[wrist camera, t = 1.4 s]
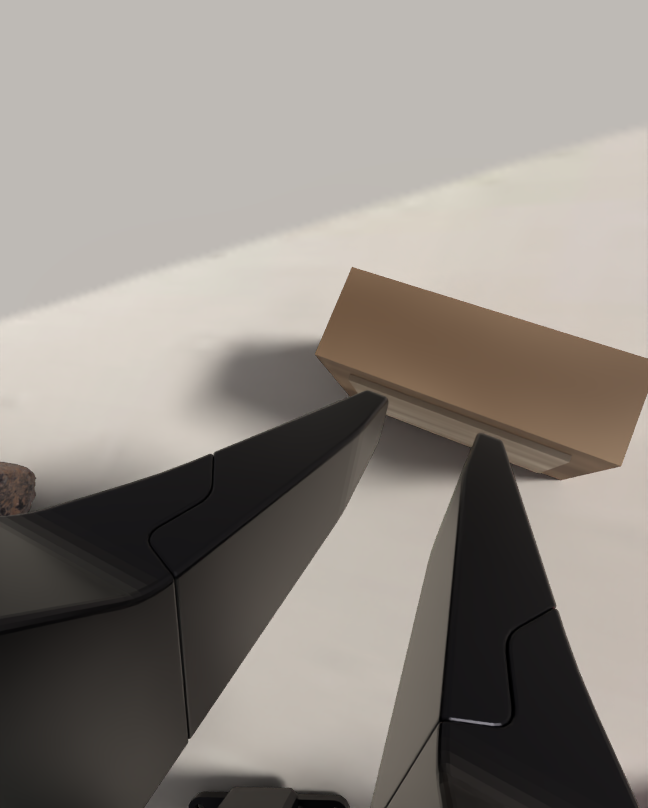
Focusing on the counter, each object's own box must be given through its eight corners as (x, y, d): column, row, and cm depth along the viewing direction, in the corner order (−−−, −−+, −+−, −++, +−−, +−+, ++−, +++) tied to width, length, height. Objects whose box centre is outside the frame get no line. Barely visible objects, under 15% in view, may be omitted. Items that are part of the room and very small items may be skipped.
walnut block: (558, 484, 21) (618, 473, 14) (352, 405, 24) (312, 360, 16) (586, 410, 21) (658, 362, 14) (379, 339, 24) (352, 267, 17)
